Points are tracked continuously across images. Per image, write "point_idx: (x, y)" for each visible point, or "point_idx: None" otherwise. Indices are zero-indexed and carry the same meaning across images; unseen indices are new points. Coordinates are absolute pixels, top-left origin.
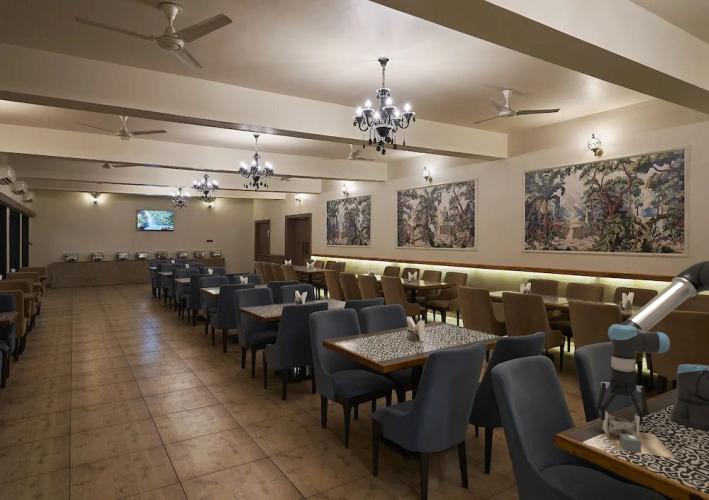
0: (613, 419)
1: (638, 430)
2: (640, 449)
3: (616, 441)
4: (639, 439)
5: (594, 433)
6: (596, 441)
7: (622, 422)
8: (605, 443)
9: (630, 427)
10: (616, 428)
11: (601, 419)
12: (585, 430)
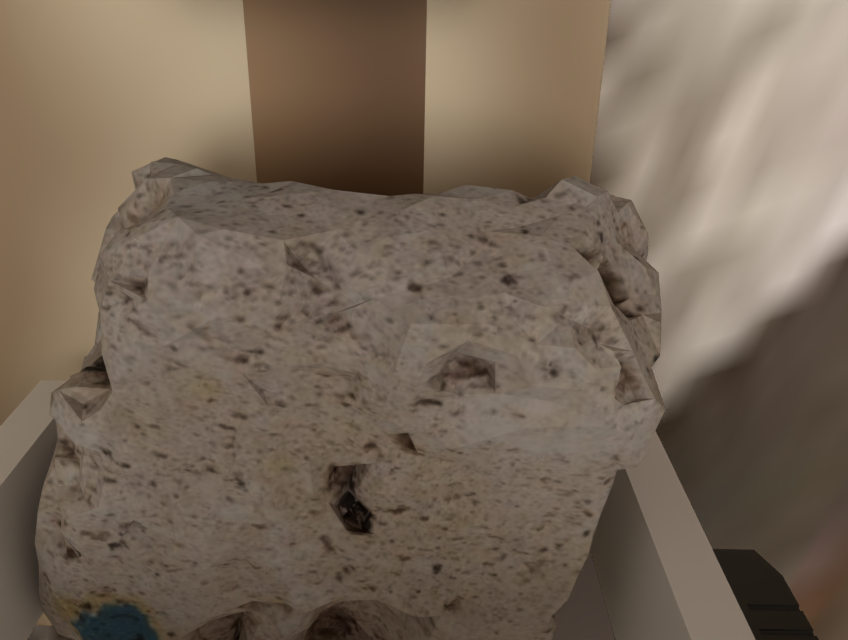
0: (467, 636)
1: (5, 430)
2: None
3: (502, 97)
4: (63, 353)
5: (714, 430)
6: (845, 77)
7: (307, 510)
8: (705, 34)
9: (163, 224)
10: (533, 202)
11: (761, 565)
12: (810, 497)
